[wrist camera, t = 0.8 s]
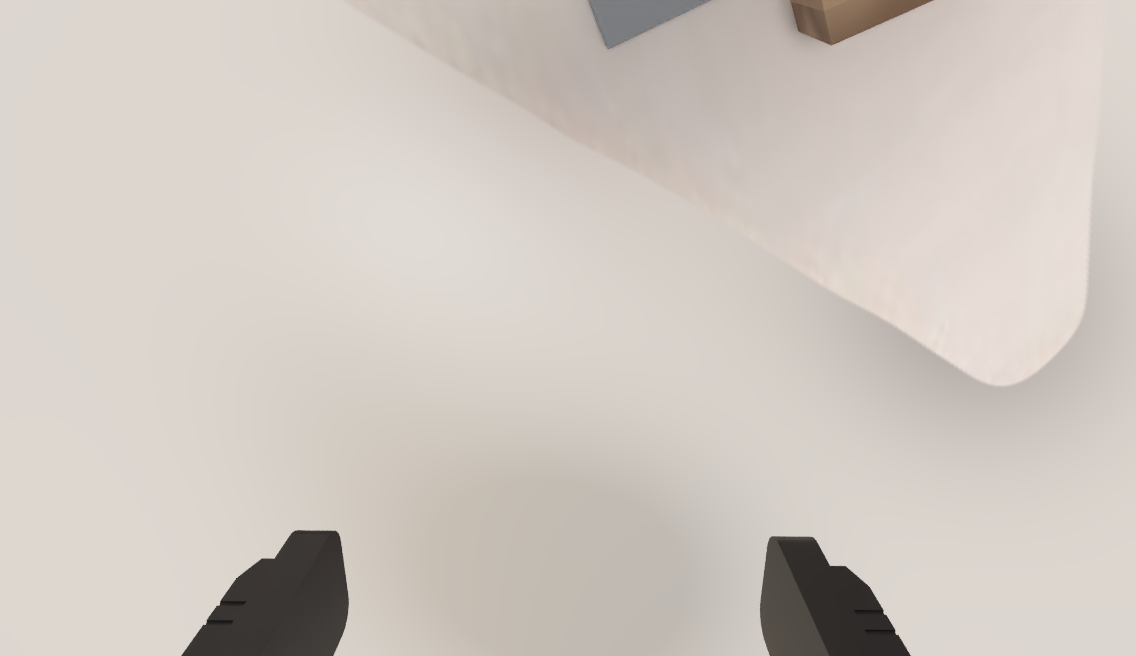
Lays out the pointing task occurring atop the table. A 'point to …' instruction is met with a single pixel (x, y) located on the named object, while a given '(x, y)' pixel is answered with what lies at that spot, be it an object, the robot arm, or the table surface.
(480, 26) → the table surface
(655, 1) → the slate pad
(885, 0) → the wooden cube shelf
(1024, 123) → the table surface
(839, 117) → the table surface
